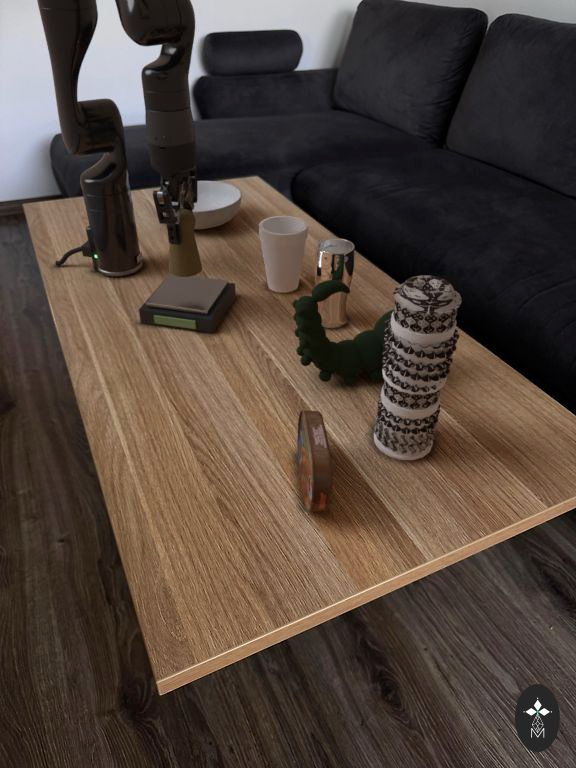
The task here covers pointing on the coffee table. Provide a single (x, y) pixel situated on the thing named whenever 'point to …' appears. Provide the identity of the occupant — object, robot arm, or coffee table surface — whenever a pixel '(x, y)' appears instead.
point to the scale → (189, 314)
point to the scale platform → (188, 294)
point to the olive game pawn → (185, 249)
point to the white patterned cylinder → (415, 365)
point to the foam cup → (283, 251)
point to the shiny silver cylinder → (334, 277)
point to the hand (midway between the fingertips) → (181, 236)
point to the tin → (314, 461)
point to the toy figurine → (345, 354)
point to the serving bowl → (215, 204)
